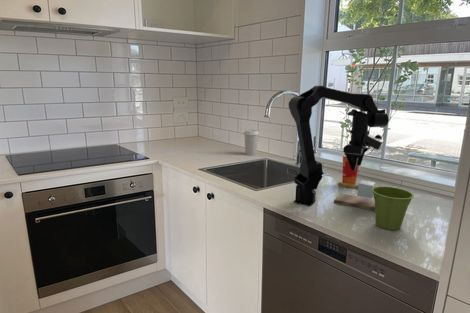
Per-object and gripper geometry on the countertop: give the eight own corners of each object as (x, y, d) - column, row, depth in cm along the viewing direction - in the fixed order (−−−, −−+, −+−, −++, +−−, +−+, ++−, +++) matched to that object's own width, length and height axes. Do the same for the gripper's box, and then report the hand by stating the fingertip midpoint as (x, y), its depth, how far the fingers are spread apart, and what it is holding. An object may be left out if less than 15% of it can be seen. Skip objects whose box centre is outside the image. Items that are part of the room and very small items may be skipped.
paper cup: (343, 179, 154) (346, 150, 151) (360, 183, 150) (363, 152, 146) (337, 183, 148) (339, 153, 145) (354, 187, 144) (357, 155, 141)
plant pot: (396, 237, 97) (401, 201, 94) (360, 223, 106) (364, 190, 104) (416, 227, 104) (421, 193, 101) (381, 215, 113) (384, 183, 111)
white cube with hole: (357, 195, 122) (358, 183, 121) (360, 192, 126) (361, 180, 124) (371, 198, 119) (373, 185, 118) (374, 194, 123) (375, 182, 122)
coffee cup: (258, 156, 203) (259, 131, 200) (243, 155, 203) (243, 131, 200) (258, 152, 212) (258, 129, 209) (243, 152, 212) (243, 129, 209)
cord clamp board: (333, 202, 125) (335, 183, 123) (340, 196, 132) (341, 177, 130) (385, 212, 115) (388, 192, 114) (389, 205, 123) (391, 185, 121)
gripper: (378, 132, 113) (373, 176, 116) (387, 126, 128) (382, 166, 131) (344, 129, 119) (341, 171, 122) (357, 124, 134) (353, 162, 137)
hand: (356, 167), depth 128 cm, fingers open, 9 cm apart
